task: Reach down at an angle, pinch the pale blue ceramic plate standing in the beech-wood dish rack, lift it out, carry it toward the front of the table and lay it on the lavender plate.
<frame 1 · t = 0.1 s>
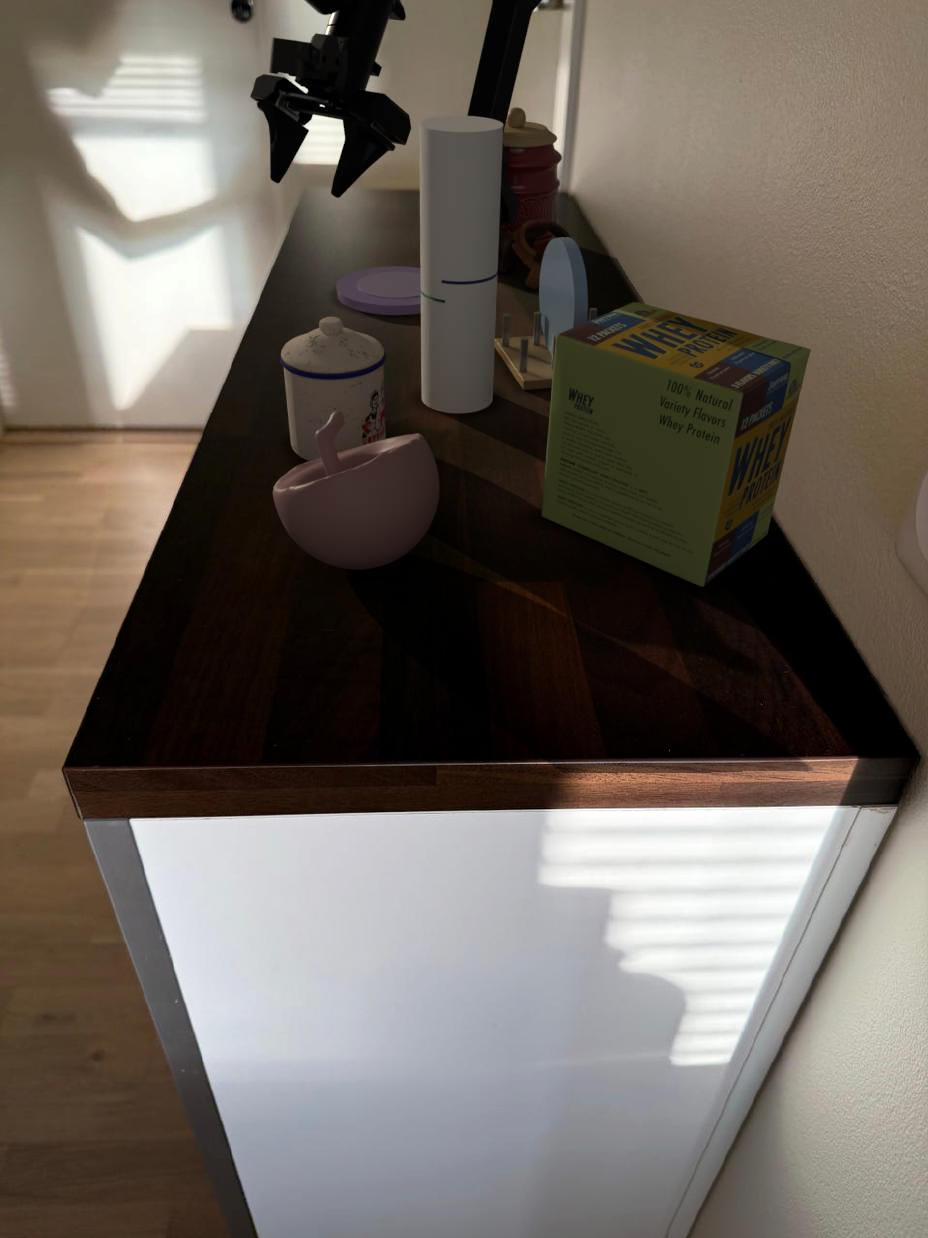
hand: (303, 188, 105), 15 cm above the table, tool tilted 35°, fingers open, 9 cm apart
protein box: (653, 528, 79), on the table
dish rack: (557, 363, 106), on the table
lavender plate: (396, 294, 123), on the table
cylindrical container: (457, 399, 99), on the table
blue plate: (562, 299, 102), point 7 cm above the table, touching dish rack
kitchen canister: (510, 244, 141), on the table
mortar and pestle: (361, 558, 75), on the table
pottery mug: (525, 279, 129), on the table
teacup with lid: (340, 439, 91), on the table
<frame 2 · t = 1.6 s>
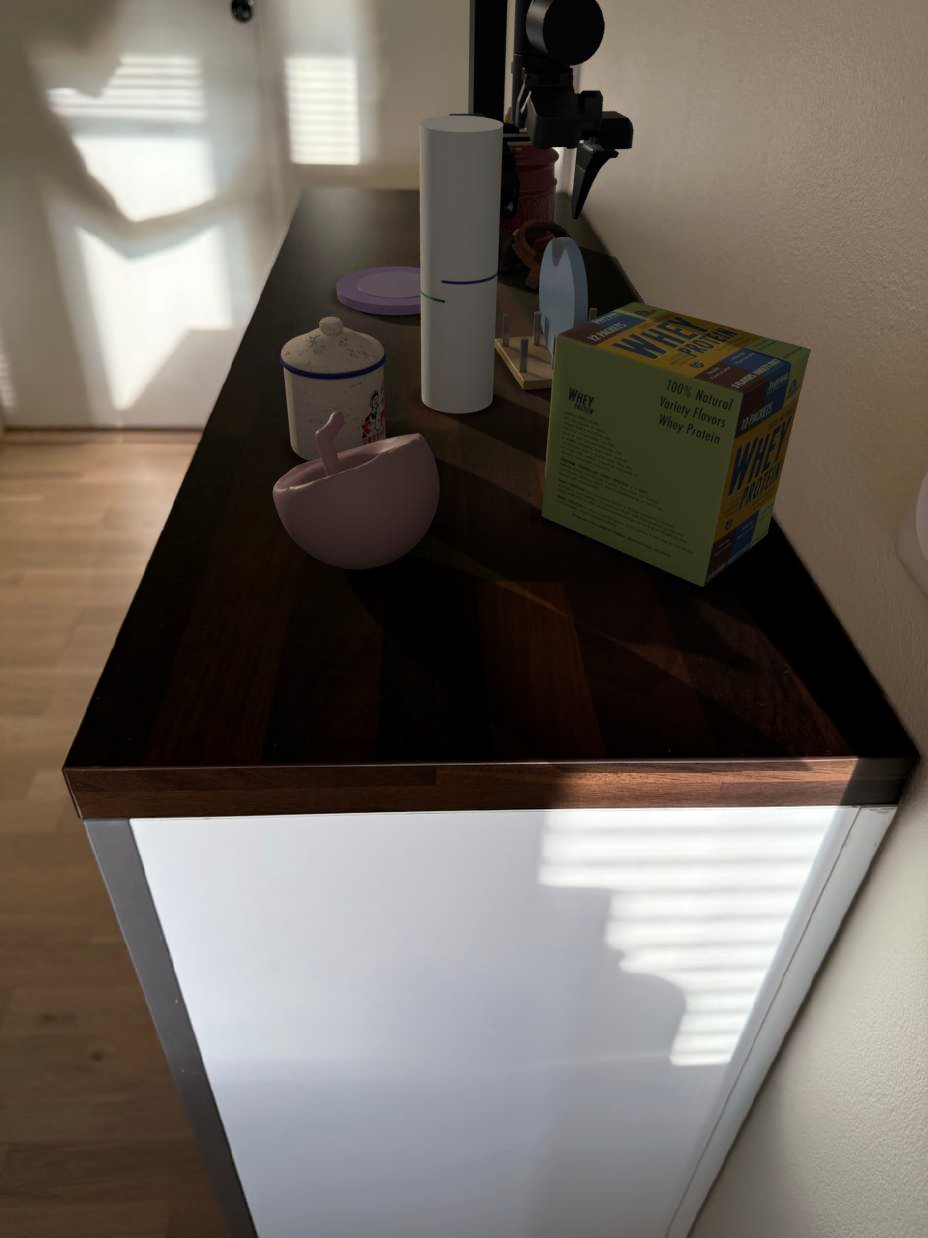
hand: (533, 220, 105), 13 cm above the table, tool pointing down, fingers open, 9 cm apart
kitchen canister: (508, 243, 142), on the table, touching arm
everything else where it was.
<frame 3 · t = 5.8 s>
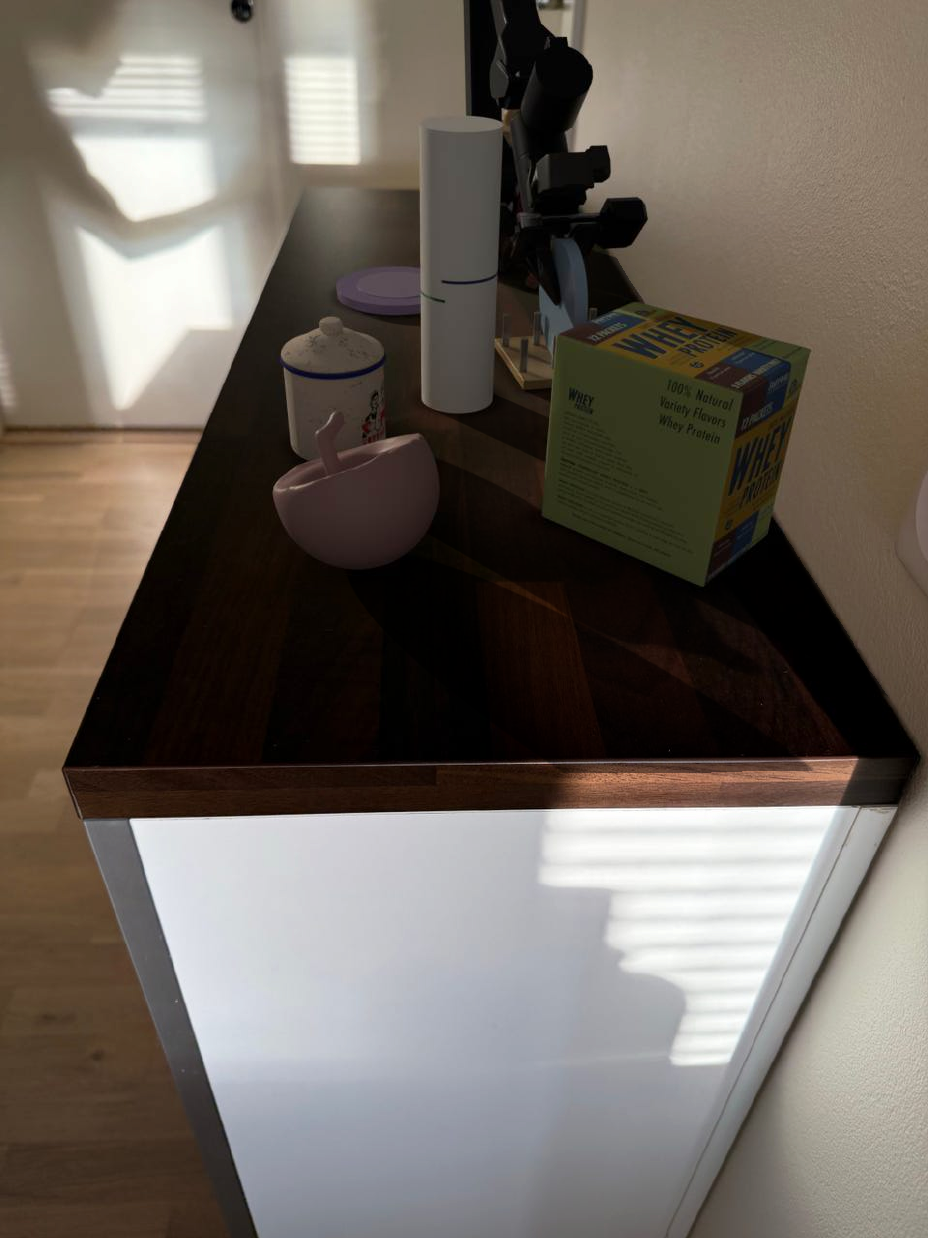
hand: (566, 303, 101), 7 cm above the table, tool tilted 45°, fingers closed on blue plate, 1 cm apart
blue plate: (562, 299, 102), point 7 cm above the table, touching dish rack, gripper
everything else where it was.
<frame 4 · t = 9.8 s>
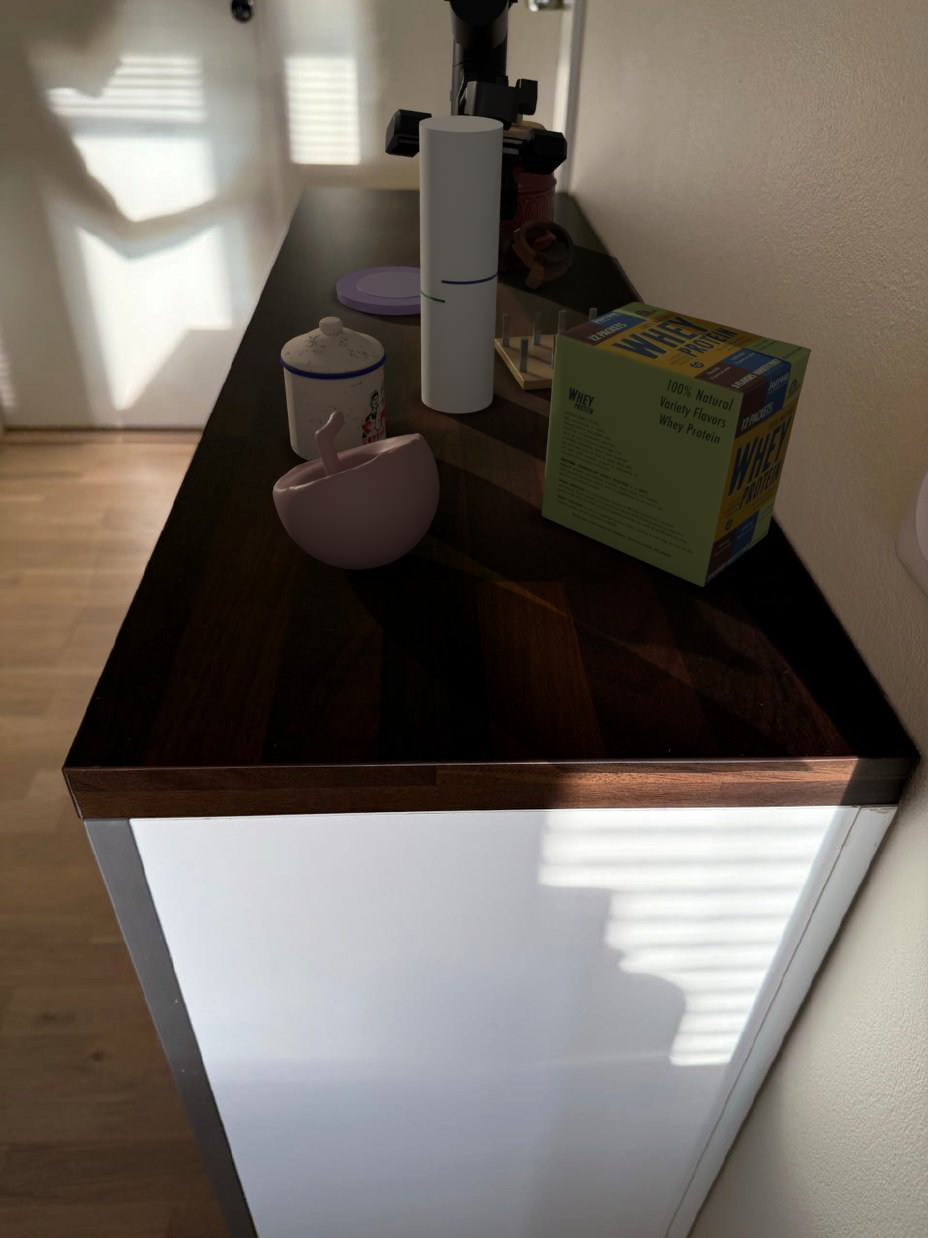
hand: (473, 226, 105), 12 cm above the table, tool tilted 30°, fingers closed on blue plate
blue plate: (471, 220, 106), point 12 cm above the table, tilted 17°, touching gripper
kitchen canister: (507, 243, 142), on the table
everything else where it was.
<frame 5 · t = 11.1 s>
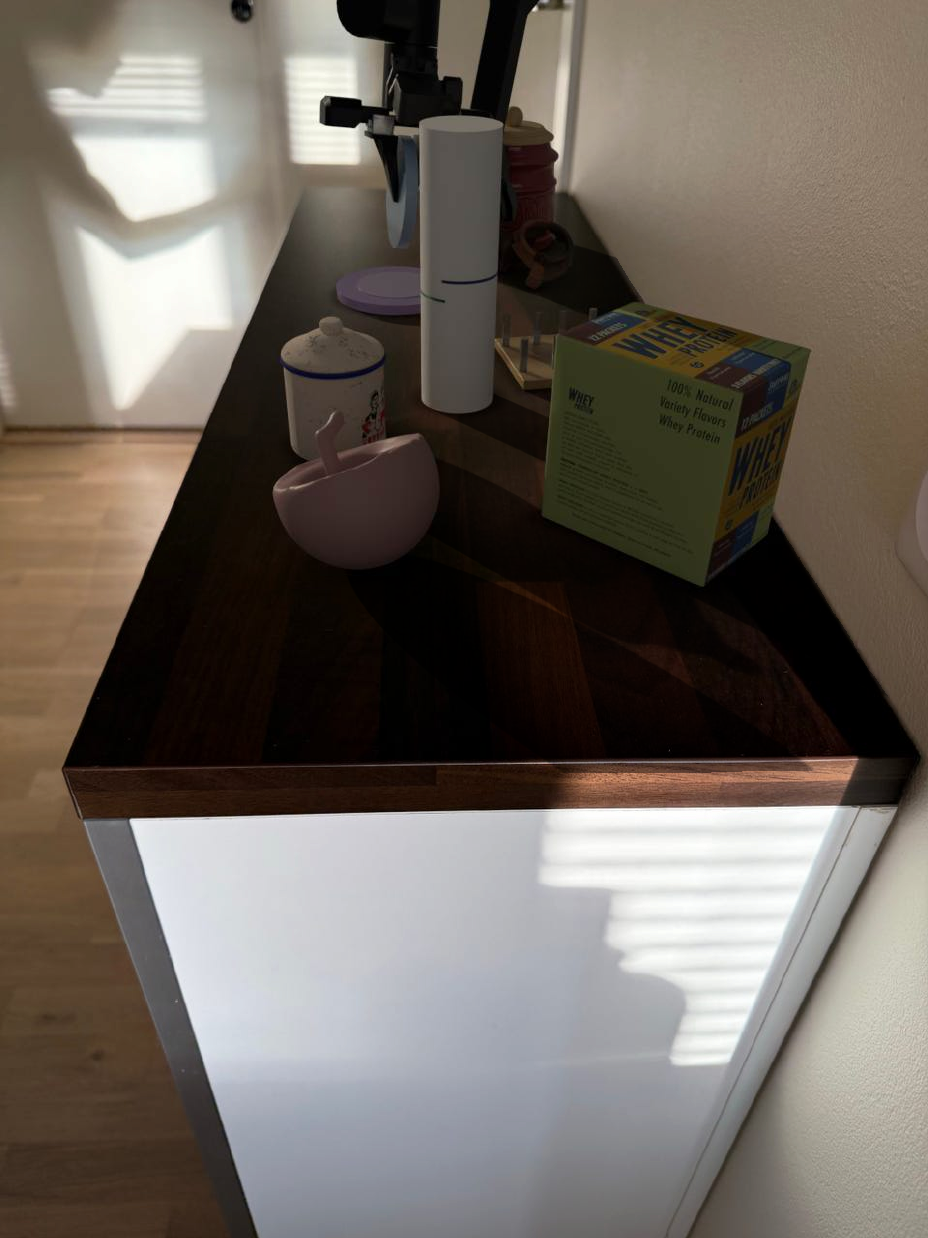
hand: (402, 202, 112), 12 cm above the table, tool pointing down, fingers closed on blue plate
blue plate: (401, 192, 113), point 13 cm above the table, tilted 39°, touching gripper
everything else where it was.
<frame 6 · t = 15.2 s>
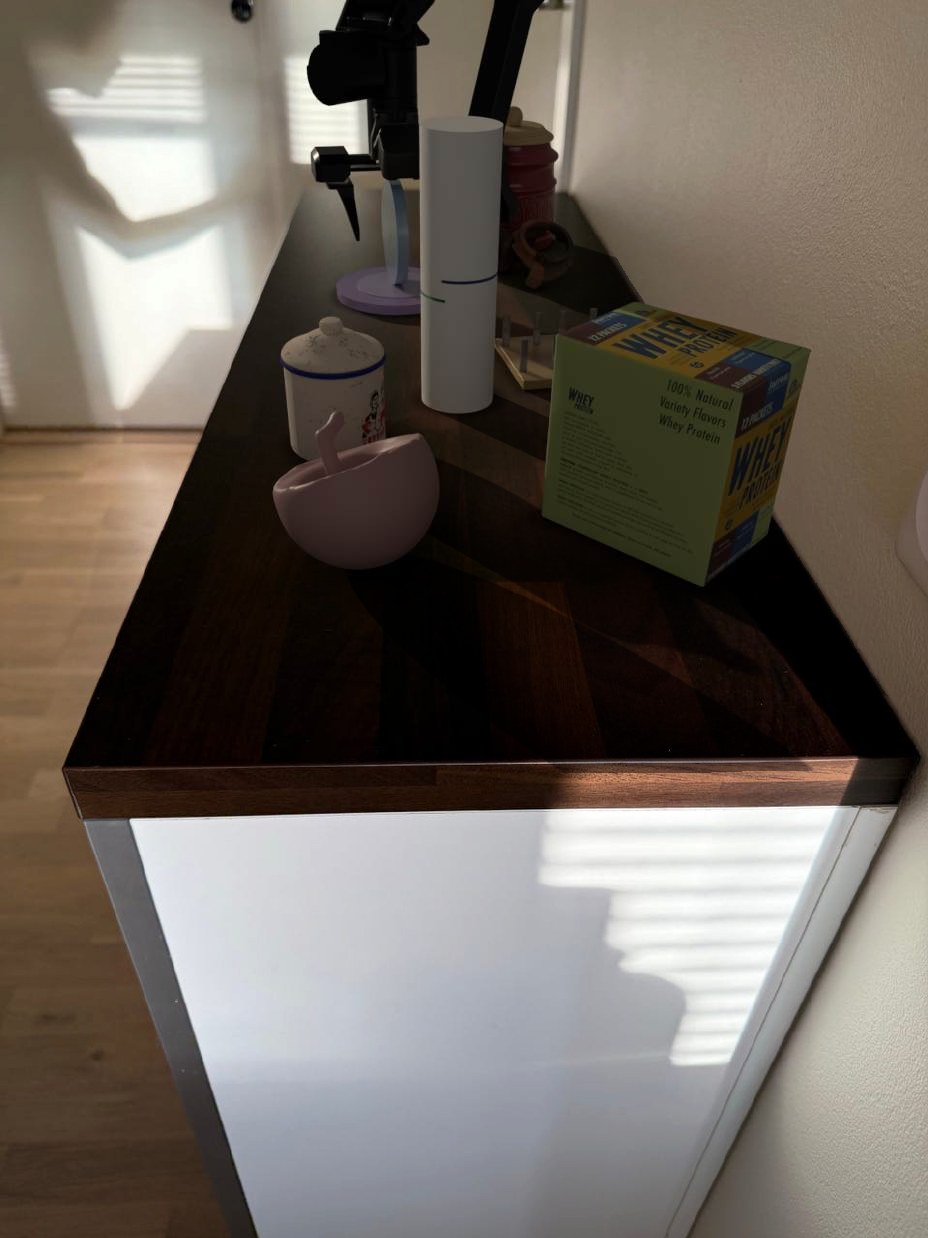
hand: (395, 238, 119), 7 cm above the table, tool pointing down, fingers open, 9 cm apart
blue plate: (394, 232, 119), point 7 cm above the table, tilted 48°, touching lavender plate
everything else where it was.
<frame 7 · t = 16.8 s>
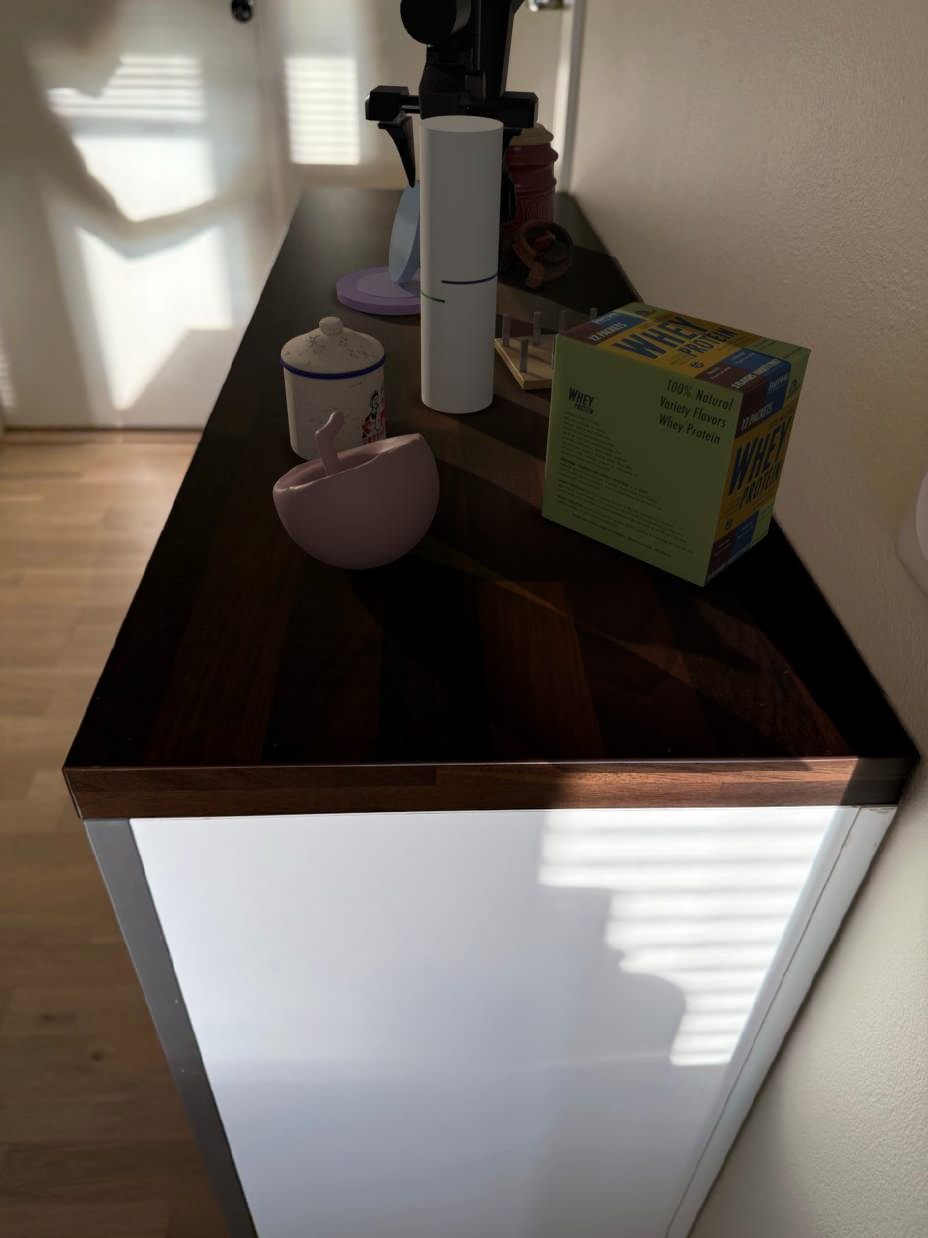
hand: (451, 189, 114), 13 cm above the table, tool pointing down, fingers open, 9 cm apart
blue plate: (408, 232, 120), point 7 cm above the table, tilted 51°, touching lavender plate
everything else where it was.
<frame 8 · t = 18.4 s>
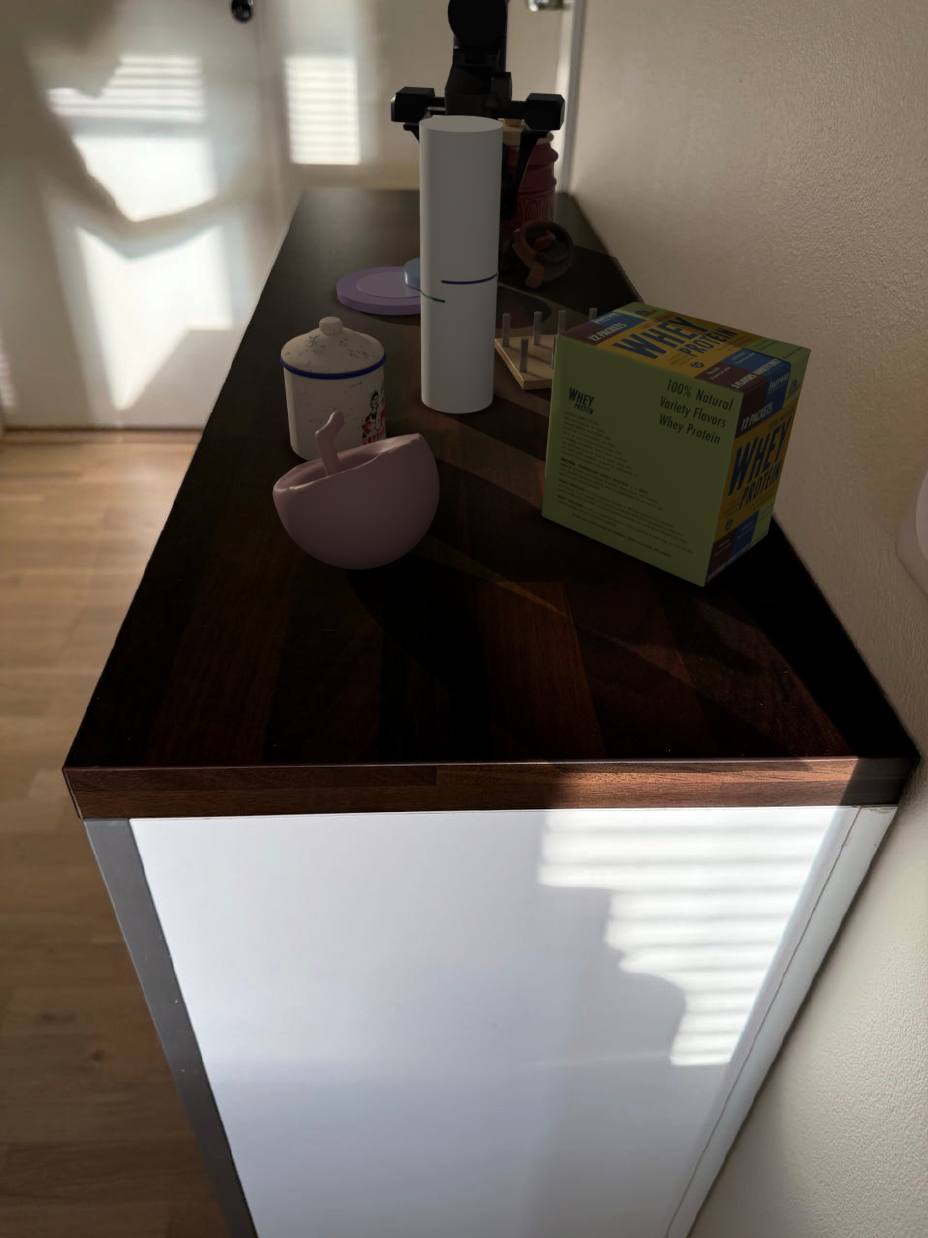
hand: (476, 191, 113), 13 cm above the table, tool pointing down, fingers open, 9 cm apart
blue plate: (451, 274, 124), point 2 cm above the table, tilted 91°, touching lavender plate
everything else where it was.
at the end: blue plate inside the target area on the lavender plate (7.1 cm from its centre), point 1.9 cm above the lavender plate's base; the gripper is holding nothing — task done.
